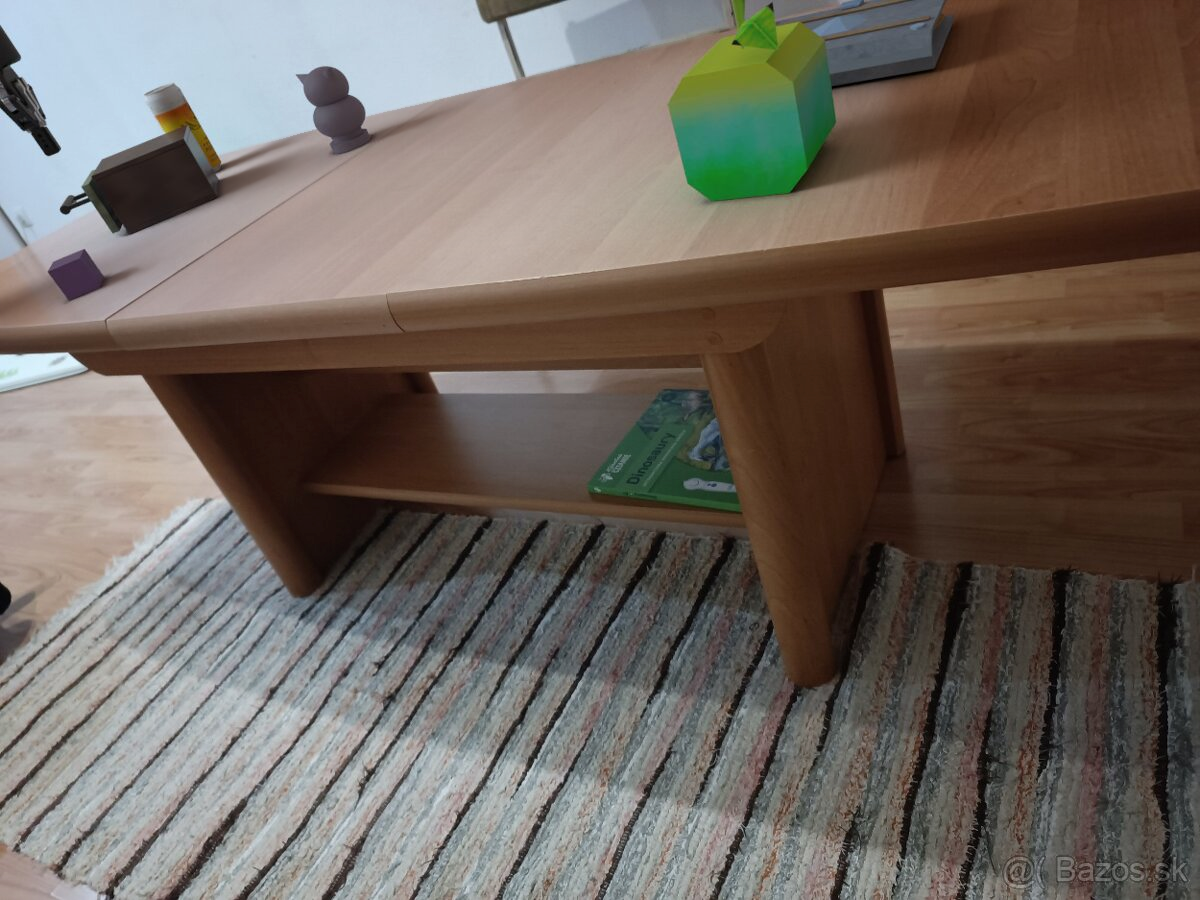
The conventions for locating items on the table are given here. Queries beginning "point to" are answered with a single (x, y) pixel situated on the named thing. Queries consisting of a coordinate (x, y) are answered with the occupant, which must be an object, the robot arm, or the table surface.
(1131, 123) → the table surface
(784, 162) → the apple
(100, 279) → the block
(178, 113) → the beer can
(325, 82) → the cat figurine
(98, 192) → the drawer
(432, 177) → the table surface
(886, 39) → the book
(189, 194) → the cabinet
